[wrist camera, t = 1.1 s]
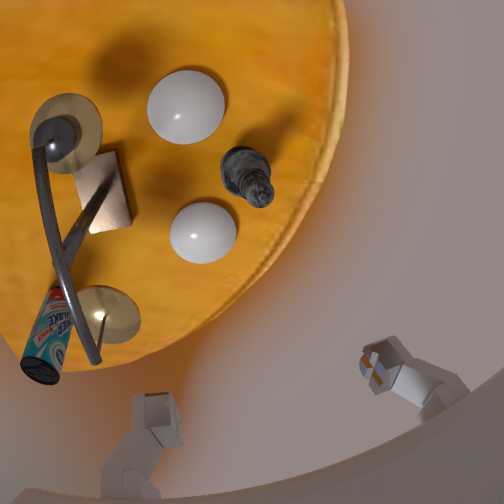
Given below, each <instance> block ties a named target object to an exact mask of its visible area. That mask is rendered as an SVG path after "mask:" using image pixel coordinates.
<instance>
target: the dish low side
mask: <svg viewBox="0 0 504 504" xmlns="http://www.w3.org/2000/svg"><path fill="white" fill-rule="evenodd" d="M224 110H225V101H224V96H223V93H222V91H221V89H220V87H219V85H218V84H217V83H216V82H215V81H214V80H213V79H212V78H211V77H209V76H208V75H206V74H204V73H201V72H198V71H192V70H184V71H178V72H175V73H172V74H170V75H168V76H166V77H165V78H163V79H162V80H161V81H160V82H159V83H158V84H157V85H156V86H155V87H154V89H153V90H152V92H151V94H150V96H149V99H148V104H147V115H148V119H149V122H150V124H151V126H152V128H153V129H154V131H155V132H156V133H157V134H158V135H159V136H160V137H162V138H163V139H165V140H167V141H169V142H172V143H175V144H192V143H196V142H199V141H201V140H203V139H205V138H207V137H208V136H209V135H211V134H212V133H213V132H214V131H215V130H216V129H217V127H218V126H219V124H220V122H221V120H222V118H223V115H224Z"/></svg>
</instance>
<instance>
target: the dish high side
mask: <svg viewBox="0 0 504 504" xmlns="http://www.w3.org/2000/svg"><path fill="white" fill-rule="evenodd" d="M235 239H236V226H235V223H234V220H233V218H232V216H231V215H230V213H229V212H228V211H227V210H226V209H225V208H223V207H222V206H220V205H218V204H216V203H213V202H206V201H202V202H195V203H192V204H189V205H187V206H185V207H184V208H182V209H181V210H180V211H179V212H178V213H177V214H176V215H175V217H174V218H173V220H172V223H171V226H170V242H171V245H172V247H173V249H174V250H175V252H176V253H177V254H178V255H179V256H180V257H182V258H183V259H185V260H187V261H190V262H193V263H210V262H213V261H216V260H218V259H220V258H222V257H223V256H225V255H226V254H227V253H228V252H229V251H230V249H231V248H232V246H233V244H234V242H235Z"/></svg>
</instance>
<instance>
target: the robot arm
mask: <svg viewBox="0 0 504 504" xmlns="http://www.w3.org/2000/svg"><path fill="white" fill-rule="evenodd" d="M363 353H364V355H363V356H362V357H361V358H360V362H359V365H360V370H361V373H362V375H363V376H364V378H367V379H369V386H370V387H371V389H372V391H373V392H374V394H375V395H378V394H380V393H383V392H385V391H388V390H390V389H391V390H392V391H394V392H395V393H397V394H399V395H400V396H402V397H404V398H405V399H407V400H409V401H410V402H412V403H414V404H416V405H417V406H419V407H421V408H422V409H421V410H420V412H419V413H418V415H417V417H416V418H417V420H418V422H419V423H420V425H418V426H417V427H415V428H413V429H411V430H409V431H407V432H406V433H403V434H402V435H400V436H398V437H396V438H394V439H392V440H389V441H388V442H385V443H383V444H381V445H379V446H377V447H375V448H372V449H370V450H368V451H365V452H363V453H361V454H359V455H356V456H353V457H351V458H348V459H346V460H343V461H341V462H338V463H335V464H333V465H330V466H327V467H324V468H321V469H318V470H315V471H312V472H309V473H306V474H302V475H299V476H296V477H292V478H288V479H285V480H281V481H277V482H273V483H269V484H265V485H260V486H256V487H251V488H246V489H241V490H235V491H230V492H224V493H217V494H209V495H201V496H193V497H181V498H168V499H167V498H166V499H161V495H160V490H159V489H157V488H156V487H155V486H154V485H153V484H151V483H150V482H149V481H148V479H149V478H150V476H151V474H152V472H153V470H154V468H155V466H156V464H157V462H158V459H159V457H160V455H161V453H162V452H163V448H167V447H175V446H182V445H183V438H182V431H181V429H180V428H179V424H180V423H181V421H180V415H179V410H178V407H177V404H176V402H175V401H173V395H172V393H171V392H170V391H168V392H159V393H147V394H137V395H133V398H132V429H131V430H128V431H127V432H126V434H125V435H124V437H123V438H122V440H121V441H120V443H119V444H118V445H117V447H116V448H115V450H114V451H113V453H112V454H111V455H110V457H109V458H108V460H107V461H106V463H105V464H104V466H103V467H102V469H101V498H96V497H84V496H76V495H68V494H61V493H55V492H49V491H44V490H39V489H35V488H26V489H24V490H23V491H22V492H21V493H20V494H19V495H18V496H17V497H16V498H15V499H14V500H13V501H12V503H10V504H504V367H503V368H502V369H501V370H500V371H498V372H497V373H496V374H495V375H493V376H492V377H491V378H490V379H489V380H487V381H486V382H484V383H483V384H482V385H480V386H479V387H478V388H476V389H475V390H474V391H472V392H470V390H469V389H468V388H467V387H466V385H465V384H464V383H463V382H462V380H461V379H460V378H459V377H458V375H457V374H455V373H452V372H449V371H447V370H444V369H442V368H440V367H437V366H434V365H433V364H430V363H428V362H425V361H423V360H421V359H418V358H415V359H414V358H413V357H412V355H411V354H410V353H409V352H408V351H407V349H406V348H405V347H404V346H403V344H402V343H401V342H400V341H399V339H398V338H397V337H396V336H391V337H388V338H386V339H382V340H379V341H376V342H374V343H371V344H368V345H366V346H365V347H364V348H363Z"/></svg>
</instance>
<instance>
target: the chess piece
mask: <svg viewBox="0 0 504 504" xmlns="http://www.w3.org/2000/svg"><path fill="white" fill-rule="evenodd" d="M220 169H221V173H222V174H221V177H222V182H223V184H224V186H225V188H226V189H227V190H228V191H229V192H230V193H231V194H233V195H235V196H238V197H243V198H244V199H246V200H247V201H248V203H249V204H250V205H252V206H253V207H256V208H264V207H266V206H268V205H269V204H270V203H271V202H272V200H273V198H274V188H273V186H272V185H271V183H270V176H271V168H270V165H269V162H268V160H267V159H266V158H265V157H264V156H263V155H262V154H260V153H259V152H256V151H254V150H253V149H251V148H249V147H245V146H239V147H235V148H232V149H230V150H229V151H228V152H227V153H226V154H225V155H224V156H223V158H222V161H221V165H220Z"/></svg>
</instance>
